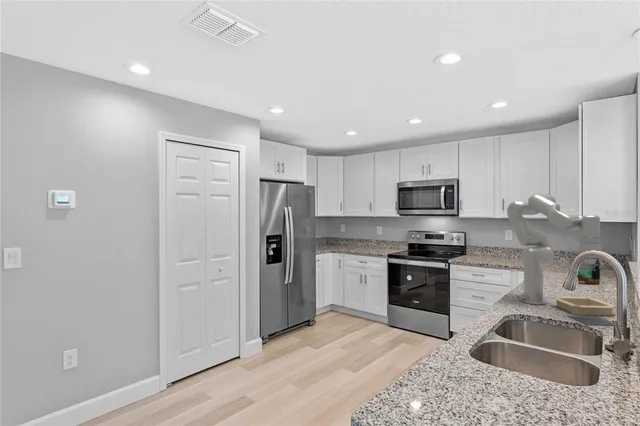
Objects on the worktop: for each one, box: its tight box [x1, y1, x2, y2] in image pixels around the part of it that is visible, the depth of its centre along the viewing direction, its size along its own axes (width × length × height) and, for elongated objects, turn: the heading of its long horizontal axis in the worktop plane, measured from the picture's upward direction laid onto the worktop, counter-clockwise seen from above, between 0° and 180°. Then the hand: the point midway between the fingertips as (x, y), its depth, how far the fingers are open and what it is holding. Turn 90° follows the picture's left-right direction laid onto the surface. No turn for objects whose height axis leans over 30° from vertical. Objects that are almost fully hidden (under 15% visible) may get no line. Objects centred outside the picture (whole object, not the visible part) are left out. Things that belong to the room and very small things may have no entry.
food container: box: [577, 264, 601, 286], centre depth 170 cm, size 12×6×10 cm, turn 97°
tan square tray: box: [552, 296, 617, 316], centre depth 186 cm, size 22×22×4 cm
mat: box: [567, 315, 614, 327], centre depth 168 cm, size 14×14×1 cm
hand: (591, 277), depth 171 cm, fingers closed on food container, 5 cm apart
